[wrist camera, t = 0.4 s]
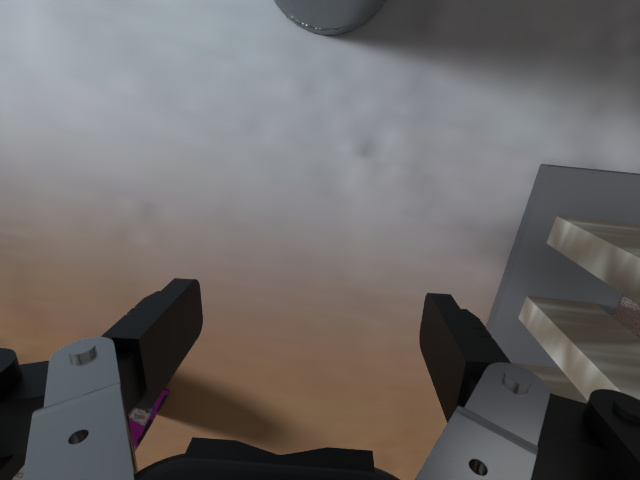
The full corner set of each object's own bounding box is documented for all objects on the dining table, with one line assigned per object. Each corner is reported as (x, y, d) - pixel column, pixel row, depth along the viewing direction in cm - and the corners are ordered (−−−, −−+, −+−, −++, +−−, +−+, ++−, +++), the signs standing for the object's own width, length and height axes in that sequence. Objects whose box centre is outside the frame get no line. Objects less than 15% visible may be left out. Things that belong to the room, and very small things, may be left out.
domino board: (540, 164, 26) (548, 166, 25) (668, 176, 26) (681, 179, 25) (419, 526, 45) (420, 535, 44) (494, 535, 44) (497, 545, 43)
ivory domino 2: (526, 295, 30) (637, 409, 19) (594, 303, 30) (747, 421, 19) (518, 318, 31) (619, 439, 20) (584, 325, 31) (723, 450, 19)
